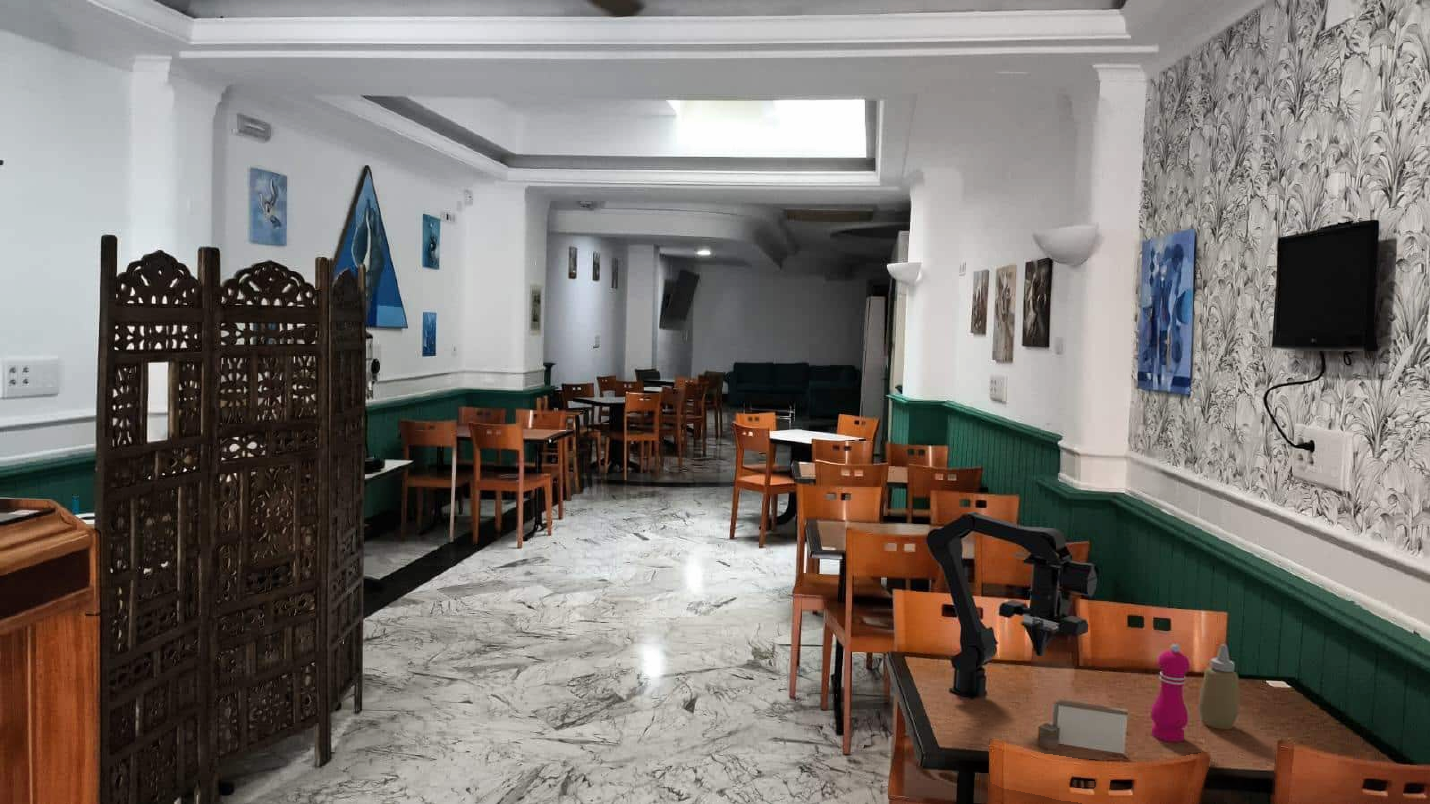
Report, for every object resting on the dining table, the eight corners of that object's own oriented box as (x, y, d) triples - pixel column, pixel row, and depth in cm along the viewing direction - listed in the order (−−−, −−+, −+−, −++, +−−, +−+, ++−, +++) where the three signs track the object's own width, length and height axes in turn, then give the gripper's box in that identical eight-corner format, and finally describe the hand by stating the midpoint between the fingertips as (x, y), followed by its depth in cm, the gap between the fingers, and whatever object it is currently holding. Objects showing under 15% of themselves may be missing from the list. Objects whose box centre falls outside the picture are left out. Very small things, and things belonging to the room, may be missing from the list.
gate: (1051, 740, 204) (1054, 698, 203) (1123, 751, 200) (1127, 709, 199) (1051, 742, 203) (1054, 701, 202) (1124, 754, 199) (1127, 711, 198)
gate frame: (1037, 745, 202) (1038, 726, 201) (1083, 723, 215) (1084, 705, 214) (1050, 750, 200) (1052, 731, 199) (1096, 727, 213) (1097, 709, 212)
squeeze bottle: (1236, 735, 212) (1243, 653, 211) (1194, 725, 216) (1201, 645, 215) (1239, 723, 219) (1246, 644, 218) (1198, 714, 223) (1205, 636, 222)
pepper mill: (1142, 729, 213) (1150, 638, 212) (1174, 729, 214) (1182, 639, 212) (1160, 743, 206) (1168, 649, 204) (1193, 743, 207) (1201, 650, 205)
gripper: (1103, 590, 216) (1097, 660, 217) (1025, 572, 229) (1021, 637, 231) (1077, 598, 208) (1072, 670, 209) (999, 578, 222) (994, 646, 223)
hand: (1039, 655), depth 218 cm, fingers closed
